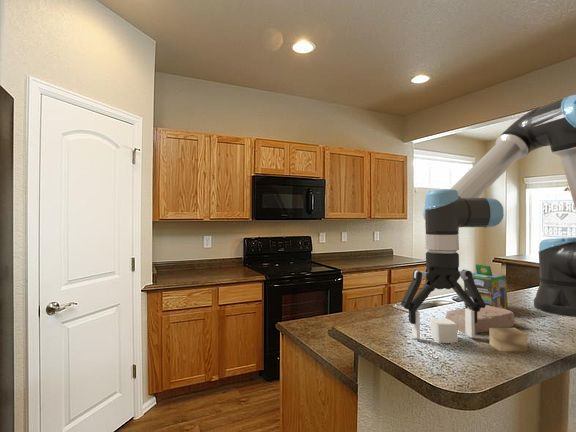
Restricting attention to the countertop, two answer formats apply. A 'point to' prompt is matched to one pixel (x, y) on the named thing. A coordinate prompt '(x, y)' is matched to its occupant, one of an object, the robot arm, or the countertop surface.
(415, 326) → the robot arm
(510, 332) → the oak block
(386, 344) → the countertop surface
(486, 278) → the chalk box
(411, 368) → the countertop surface
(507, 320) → the brick
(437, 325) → the beige cube
